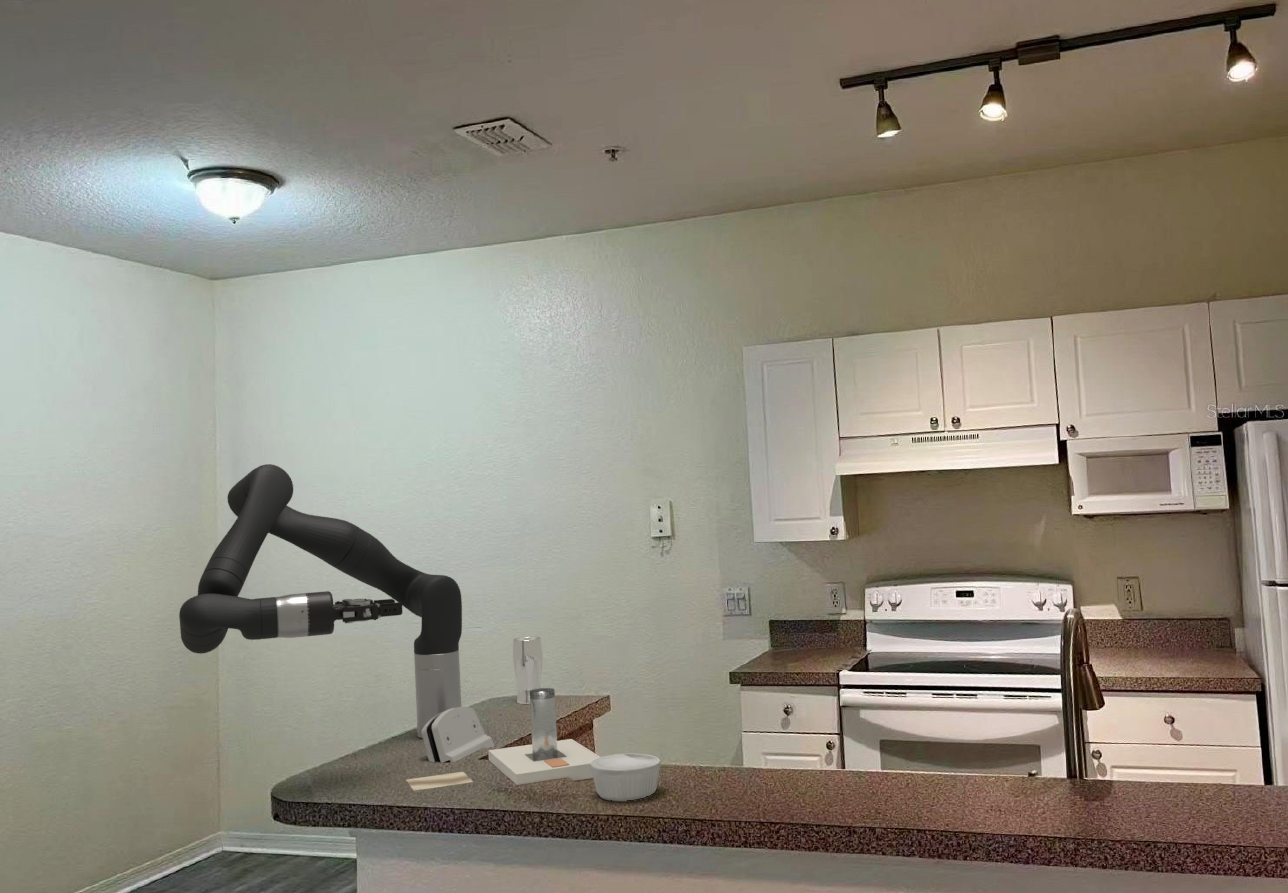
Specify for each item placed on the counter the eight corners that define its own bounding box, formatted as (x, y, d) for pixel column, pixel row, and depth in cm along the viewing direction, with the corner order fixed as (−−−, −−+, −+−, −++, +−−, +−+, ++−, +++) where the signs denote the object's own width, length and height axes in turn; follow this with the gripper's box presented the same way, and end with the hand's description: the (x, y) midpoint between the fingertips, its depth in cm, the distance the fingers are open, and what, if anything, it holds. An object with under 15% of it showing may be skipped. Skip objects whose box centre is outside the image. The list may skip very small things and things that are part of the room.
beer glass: (528, 698, 262) (525, 636, 263) (550, 700, 258) (547, 637, 259) (509, 703, 257) (506, 640, 257) (531, 705, 253) (528, 641, 253)
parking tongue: (405, 784, 186) (405, 779, 186) (463, 776, 190) (463, 771, 190) (413, 795, 179) (413, 790, 179) (473, 786, 183) (473, 781, 183)
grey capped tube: (530, 769, 193) (526, 689, 193) (554, 765, 194) (550, 687, 195) (537, 774, 189) (533, 693, 189) (561, 771, 190) (557, 690, 191)
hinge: (454, 767, 197) (435, 715, 199) (432, 775, 198) (414, 723, 200) (495, 745, 213) (478, 697, 214) (475, 753, 214) (458, 705, 216)
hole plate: (488, 764, 198) (488, 749, 198) (572, 752, 204) (571, 737, 204) (517, 789, 179) (516, 773, 179) (607, 775, 185) (606, 759, 185)
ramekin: (673, 787, 176) (671, 755, 176) (641, 807, 166) (639, 772, 166) (613, 782, 181) (612, 750, 182) (579, 800, 171) (577, 767, 172)
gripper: (306, 596, 182) (403, 588, 188) (300, 590, 195) (391, 583, 201) (308, 640, 182) (405, 631, 188) (302, 632, 195) (393, 623, 201)
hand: (398, 606), depth 195 cm, fingers open, 8 cm apart
